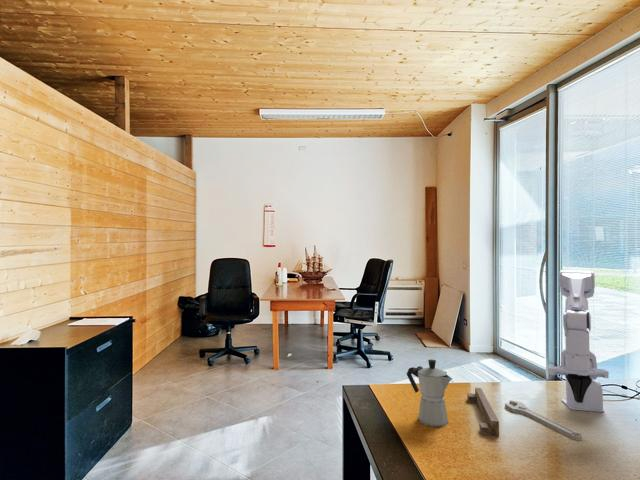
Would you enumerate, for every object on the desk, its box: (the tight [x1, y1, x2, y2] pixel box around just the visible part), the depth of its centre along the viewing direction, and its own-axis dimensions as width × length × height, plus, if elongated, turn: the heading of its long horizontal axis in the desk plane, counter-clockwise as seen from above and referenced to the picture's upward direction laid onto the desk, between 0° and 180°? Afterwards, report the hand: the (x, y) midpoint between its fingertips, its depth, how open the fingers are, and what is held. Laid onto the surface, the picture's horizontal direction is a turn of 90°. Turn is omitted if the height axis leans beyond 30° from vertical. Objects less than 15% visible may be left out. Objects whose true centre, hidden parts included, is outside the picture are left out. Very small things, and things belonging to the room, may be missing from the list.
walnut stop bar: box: [466, 387, 500, 437], centre depth 120 cm, size 4×26×4 cm, turn 167°
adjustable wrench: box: [504, 399, 583, 441], centre depth 116 cm, size 25×6×2 cm, turn 14°
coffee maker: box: [406, 359, 453, 428], centre depth 117 cm, size 15×9×18 cm, turn 47°
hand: (578, 401), depth 110 cm, fingers closed
